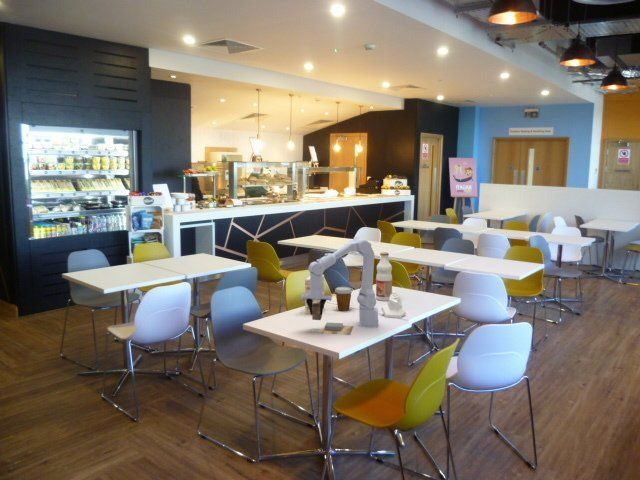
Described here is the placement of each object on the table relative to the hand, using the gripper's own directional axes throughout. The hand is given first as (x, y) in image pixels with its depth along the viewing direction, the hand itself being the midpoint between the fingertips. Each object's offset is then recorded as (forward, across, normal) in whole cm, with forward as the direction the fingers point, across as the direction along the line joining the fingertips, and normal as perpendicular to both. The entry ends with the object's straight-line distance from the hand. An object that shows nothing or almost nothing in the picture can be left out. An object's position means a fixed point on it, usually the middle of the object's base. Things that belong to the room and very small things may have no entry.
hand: (316, 314), depth 257 cm
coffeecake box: (+9, +6, -34) cm, 36 cm away
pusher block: (+2, 0, -2) cm, 3 cm away
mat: (+8, -10, -2) cm, 13 cm away
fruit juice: (+8, -30, -65) cm, 73 cm away
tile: (+7, -8, -6) cm, 12 cm away
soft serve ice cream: (+9, -37, -33) cm, 50 cm away
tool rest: (+8, 0, 0) cm, 8 cm away
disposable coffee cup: (+8, -9, -40) cm, 42 cm away
